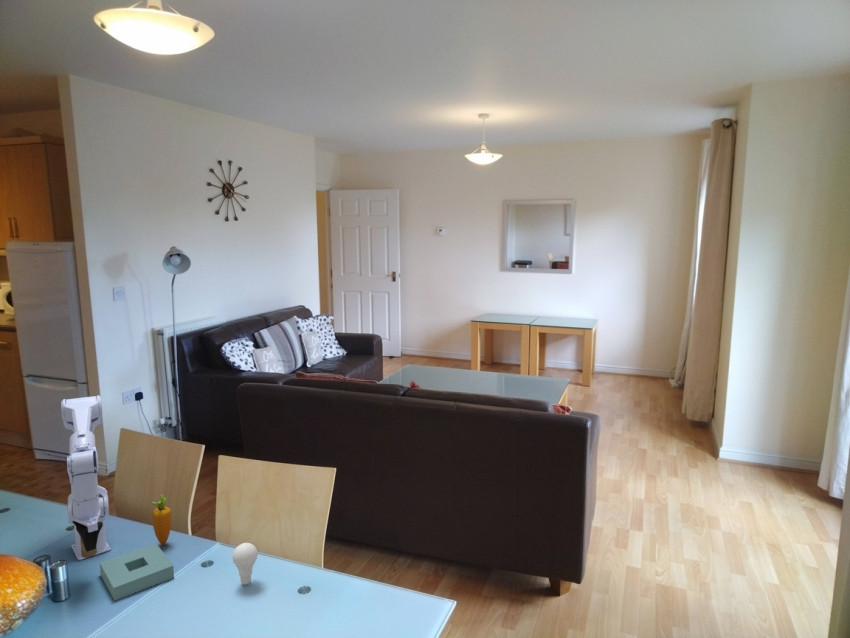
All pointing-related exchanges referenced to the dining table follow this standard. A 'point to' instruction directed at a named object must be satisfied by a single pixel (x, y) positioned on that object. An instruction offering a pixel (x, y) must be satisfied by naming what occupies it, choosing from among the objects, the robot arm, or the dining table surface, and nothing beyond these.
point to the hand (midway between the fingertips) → (89, 546)
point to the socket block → (136, 571)
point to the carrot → (162, 521)
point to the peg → (83, 551)
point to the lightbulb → (245, 561)
